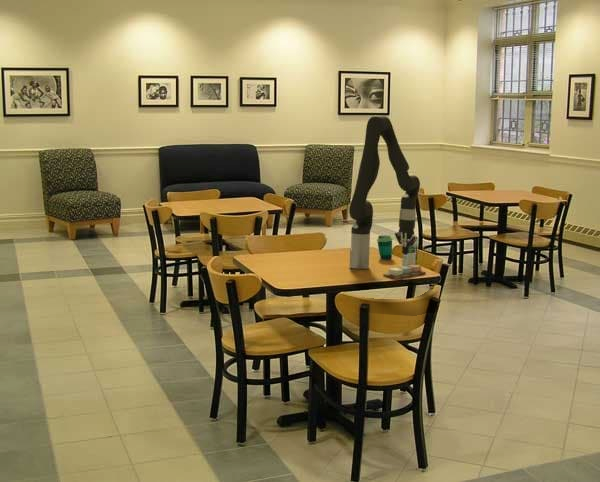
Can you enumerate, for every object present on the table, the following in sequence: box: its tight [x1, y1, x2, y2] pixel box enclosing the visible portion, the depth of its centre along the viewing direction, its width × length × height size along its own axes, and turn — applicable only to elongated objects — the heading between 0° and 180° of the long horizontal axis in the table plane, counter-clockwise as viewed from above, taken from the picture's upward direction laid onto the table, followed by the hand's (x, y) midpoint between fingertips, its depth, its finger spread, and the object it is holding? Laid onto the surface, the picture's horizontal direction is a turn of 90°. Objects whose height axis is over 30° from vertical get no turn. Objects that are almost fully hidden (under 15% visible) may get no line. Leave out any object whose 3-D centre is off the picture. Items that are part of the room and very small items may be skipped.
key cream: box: [387, 267, 403, 276], centre depth 378 cm, size 5×5×4 cm
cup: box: [376, 234, 393, 261], centre depth 420 cm, size 8×8×12 cm
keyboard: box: [383, 270, 427, 281], centre depth 382 cm, size 20×9×1 cm, turn 131°
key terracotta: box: [407, 264, 422, 273], centre depth 386 cm, size 5×5×4 cm
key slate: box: [397, 265, 412, 274], centre depth 382 cm, size 5×5×4 cm
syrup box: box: [401, 238, 419, 267], centre depth 401 cm, size 6×6×14 cm
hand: (405, 254), depth 381 cm, fingers closed
